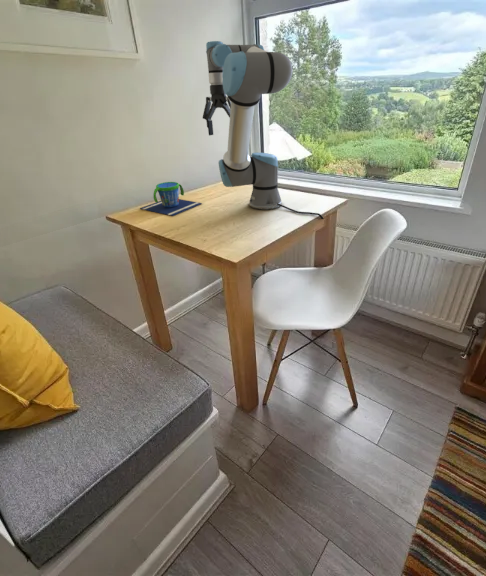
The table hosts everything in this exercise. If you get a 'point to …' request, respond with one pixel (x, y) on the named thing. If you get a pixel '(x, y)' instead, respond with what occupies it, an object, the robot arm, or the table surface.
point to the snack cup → (168, 193)
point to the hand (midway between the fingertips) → (221, 135)
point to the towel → (171, 211)
